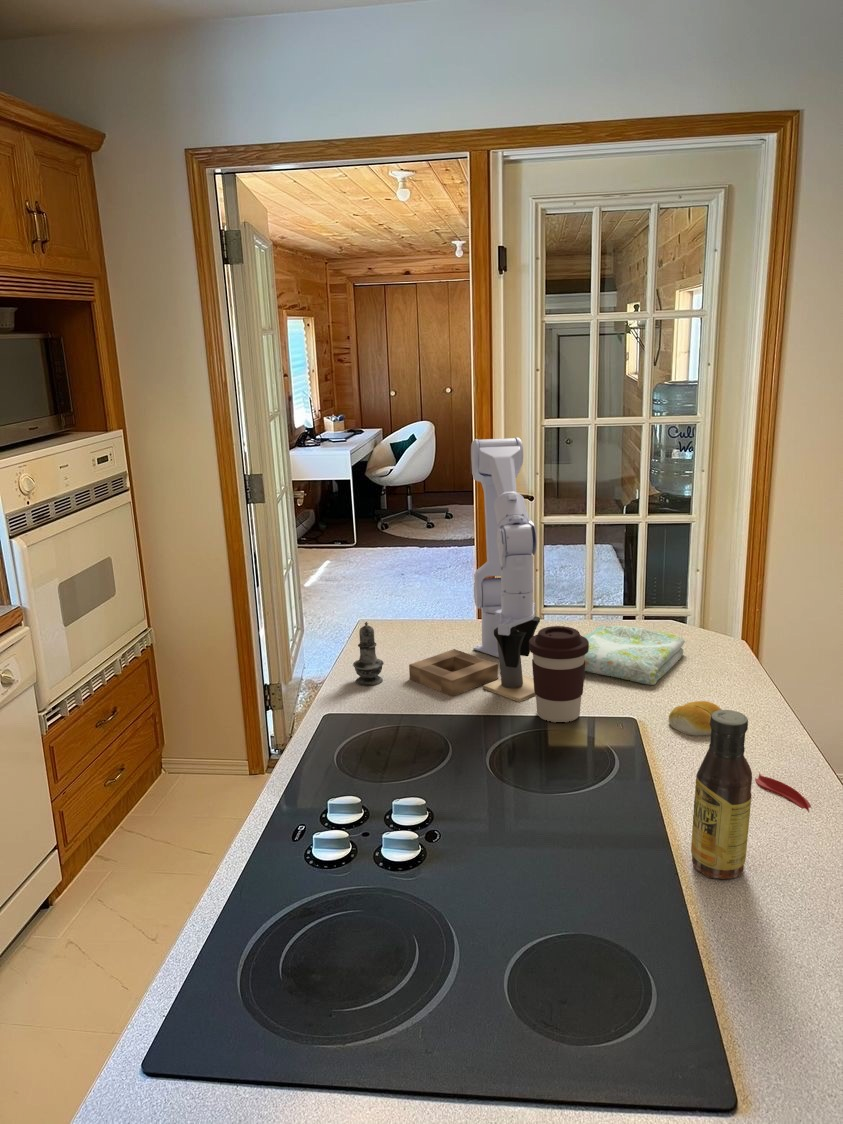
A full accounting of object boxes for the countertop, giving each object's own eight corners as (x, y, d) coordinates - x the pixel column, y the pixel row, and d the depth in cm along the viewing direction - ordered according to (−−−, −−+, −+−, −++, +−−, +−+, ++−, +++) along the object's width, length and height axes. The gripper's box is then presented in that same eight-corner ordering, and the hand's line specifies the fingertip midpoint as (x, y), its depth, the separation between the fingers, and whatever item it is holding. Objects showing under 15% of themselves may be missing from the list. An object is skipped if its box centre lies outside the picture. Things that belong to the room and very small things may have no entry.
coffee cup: (593, 708, 149) (595, 626, 145) (579, 731, 140) (580, 644, 137) (539, 700, 153) (539, 620, 149) (521, 722, 144) (521, 637, 141)
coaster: (516, 675, 165) (516, 672, 165) (552, 687, 158) (552, 684, 158) (483, 688, 159) (483, 685, 159) (519, 701, 152) (519, 698, 152)
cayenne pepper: (745, 775, 125) (746, 763, 125) (776, 773, 125) (777, 761, 125) (784, 818, 113) (785, 805, 113) (818, 816, 114) (819, 803, 113)
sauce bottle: (682, 854, 105) (689, 704, 101) (731, 850, 106) (740, 701, 101) (703, 886, 99) (712, 728, 94) (755, 882, 100) (766, 724, 95)
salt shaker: (386, 675, 167) (383, 616, 164) (382, 686, 162) (379, 626, 159) (356, 675, 168) (353, 616, 165) (351, 686, 162) (348, 626, 159)
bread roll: (735, 727, 140) (737, 704, 139) (699, 742, 135) (700, 718, 134) (694, 711, 147) (696, 689, 146) (659, 724, 142) (660, 702, 141)
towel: (687, 654, 174) (688, 630, 173) (653, 690, 157) (654, 663, 156) (602, 641, 184) (602, 618, 183) (561, 673, 167) (561, 648, 165)
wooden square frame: (454, 663, 172) (454, 649, 172) (497, 678, 164) (497, 663, 163) (409, 679, 165) (409, 664, 164) (452, 696, 156) (452, 680, 155)
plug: (504, 678, 162) (499, 628, 159) (527, 679, 160) (522, 629, 157) (497, 687, 158) (492, 636, 155) (520, 689, 156) (515, 637, 154)
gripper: (510, 578, 162) (510, 645, 165) (481, 598, 150) (482, 671, 153) (545, 581, 159) (545, 650, 162) (519, 602, 146) (520, 676, 150)
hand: (517, 660), depth 157 cm, fingers open, 6 cm apart
